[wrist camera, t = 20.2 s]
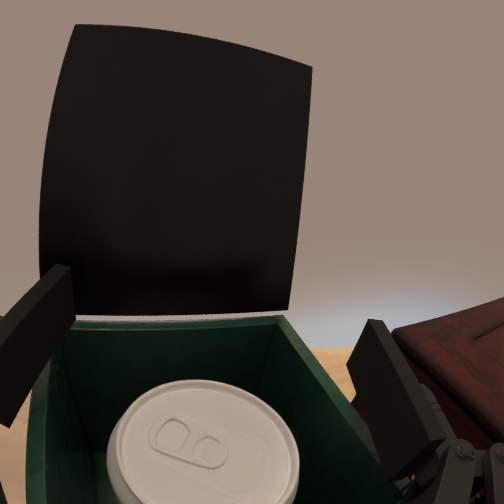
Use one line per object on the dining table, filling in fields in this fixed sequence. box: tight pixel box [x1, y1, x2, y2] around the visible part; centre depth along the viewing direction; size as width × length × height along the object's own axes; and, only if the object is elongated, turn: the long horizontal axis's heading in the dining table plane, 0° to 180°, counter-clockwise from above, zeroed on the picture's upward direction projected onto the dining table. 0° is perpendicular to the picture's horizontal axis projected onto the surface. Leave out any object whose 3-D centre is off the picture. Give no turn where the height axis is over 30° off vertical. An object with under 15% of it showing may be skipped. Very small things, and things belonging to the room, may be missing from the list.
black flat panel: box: [39, 24, 312, 316], centre depth 15 cm, size 15×14×1 cm
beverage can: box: [107, 380, 299, 504], centre depth 13 cm, size 8×8×12 cm
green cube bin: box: [26, 315, 410, 504], centre depth 13 cm, size 14×14×14 cm
